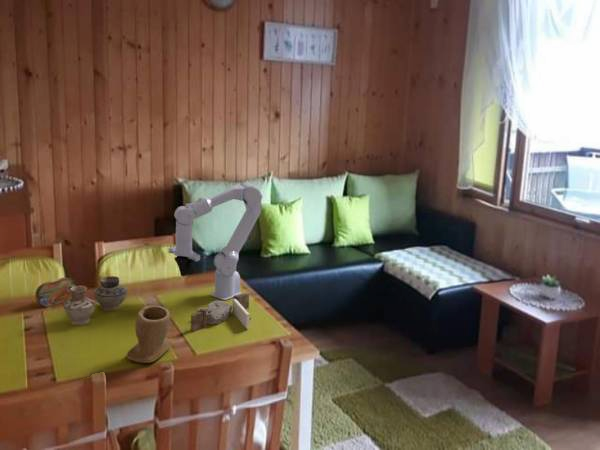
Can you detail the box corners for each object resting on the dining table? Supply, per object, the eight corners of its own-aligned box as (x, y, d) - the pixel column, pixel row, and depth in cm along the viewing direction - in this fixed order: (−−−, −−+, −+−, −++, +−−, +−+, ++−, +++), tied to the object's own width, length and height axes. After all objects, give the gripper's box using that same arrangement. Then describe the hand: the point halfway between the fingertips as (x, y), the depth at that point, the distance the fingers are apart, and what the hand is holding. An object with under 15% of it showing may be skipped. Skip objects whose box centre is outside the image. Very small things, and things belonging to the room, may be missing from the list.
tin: (39, 309, 206) (38, 286, 204) (34, 307, 208) (33, 284, 206) (78, 297, 218) (77, 276, 216) (73, 295, 220) (72, 274, 218)
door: (232, 311, 211) (232, 298, 210) (237, 311, 212) (237, 297, 210) (246, 328, 198) (246, 314, 196) (251, 327, 198) (251, 313, 197)
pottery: (56, 323, 196) (54, 289, 193) (109, 299, 218) (108, 268, 215) (82, 331, 191) (80, 296, 188) (134, 305, 214) (133, 274, 211)
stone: (192, 322, 201) (219, 328, 199) (193, 305, 200) (220, 312, 198) (209, 311, 214) (235, 317, 211) (210, 296, 213) (236, 302, 210)
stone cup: (157, 369, 170) (156, 320, 166) (121, 361, 173) (119, 313, 169) (183, 347, 184) (183, 301, 180) (149, 340, 187) (148, 295, 183)
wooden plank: (245, 306, 217) (245, 291, 215) (249, 308, 216) (249, 292, 214) (190, 330, 196) (190, 313, 194) (194, 331, 194) (194, 314, 193)
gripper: (161, 238, 216) (162, 273, 219) (190, 246, 208) (190, 283, 211) (176, 234, 221) (176, 269, 225) (204, 242, 213) (204, 278, 217)
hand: (184, 275), depth 218 cm, fingers closed
